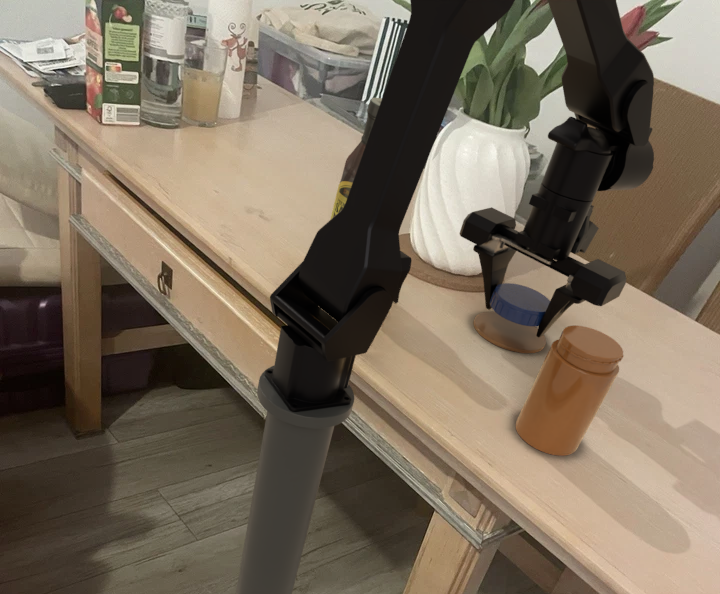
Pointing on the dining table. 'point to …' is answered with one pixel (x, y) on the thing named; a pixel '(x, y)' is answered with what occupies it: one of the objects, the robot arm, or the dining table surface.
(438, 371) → the dining table surface
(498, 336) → the coaster
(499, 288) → the lid
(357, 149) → the sauce bottle
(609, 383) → the jar
